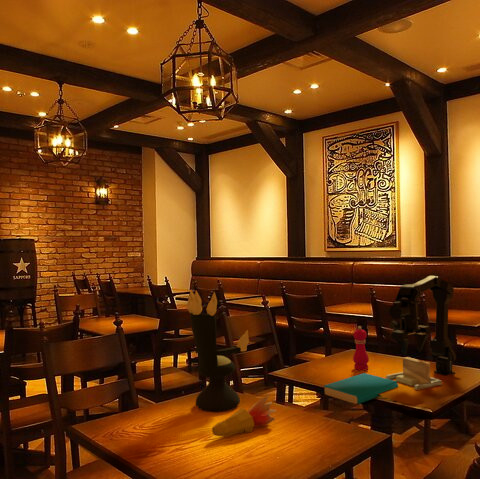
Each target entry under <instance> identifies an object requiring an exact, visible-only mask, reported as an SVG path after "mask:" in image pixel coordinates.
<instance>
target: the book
mask: <svg viewBox="0 0 480 479" xmlns="http://www.w3.org/2000/svg"><path fill="white" fill-rule="evenodd" d="M398 383H399V382H397V381H395V380H394V379H386V377H382V376H378V375H373V374H369V373H366V372H363V373H359V374H357V375H354V376H350V377H347V378H344V379H341V380H338V381H335V382H331V383H328V384H324V385H323V386H324V395H326V396H329V397H331V398H332V397H333V398H335V399H339V400H342V401H345V402H348V403H350V404H355V405H359V404H362V403H366V402H368V401H371V400H373V399H377V398H378V397H379V398H380V397H382V395H381V394H382V393H385V392H387V391H390V390H393V389H395V388H398V387H399V384H398Z"/></svg>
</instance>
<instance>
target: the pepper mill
mask: <svg viewBox="0 0 480 479" xmlns="http://www.w3.org/2000/svg"><path fill="white" fill-rule="evenodd" d="M362 328H363V327H362V326H361V325H359V326H357V328H356V329H355V330H354V331H353V335H352V336H353V338H354V344H355V351H354V353H353V356H352V361H353V362H354V365H353V366H354V367H353V368H354V370H356V371H367V370H368V369H369V365H368V363H369V361H370V358H369V355H368V352H367V350H366V346H365V345H366V343H367V342H366V341H367V340H366V338H367V334H368V333H367V332H366V330H364V329H362Z"/></svg>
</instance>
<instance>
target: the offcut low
mask: <svg viewBox="0 0 480 479" xmlns="http://www.w3.org/2000/svg"><path fill="white" fill-rule="evenodd" d="M394 381H396V379H395V380H394ZM397 383H400V384H403V385H406V386H408V387H412V388H415V385H413V386H411V385H408V384H405V383H401V382H398V381H397ZM416 385H417V384H416Z"/></svg>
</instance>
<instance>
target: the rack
mask: <svg viewBox="0 0 480 479" xmlns="http://www.w3.org/2000/svg"><path fill="white" fill-rule="evenodd" d="M399 375H403V371H401V372H396V373H391V374H386V375H385V378H386V379H390V380H394V379H395V380H396V376H399ZM430 380H431V382H426V383H422V384H419V383H418V384H417V385H415V387H414V390H416V391H419V390H423V389H427V388H432V387H436V386H442V385H443V384H442V383H443V382H442V380H440V379H439V378H435V377H431V376H430Z"/></svg>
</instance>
